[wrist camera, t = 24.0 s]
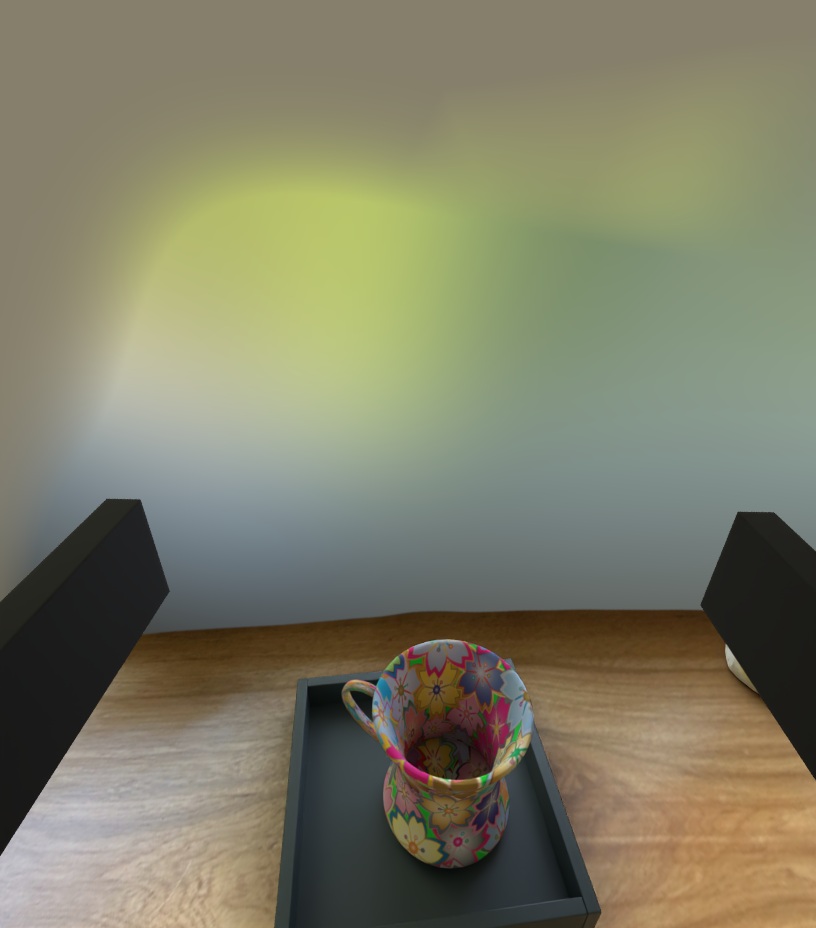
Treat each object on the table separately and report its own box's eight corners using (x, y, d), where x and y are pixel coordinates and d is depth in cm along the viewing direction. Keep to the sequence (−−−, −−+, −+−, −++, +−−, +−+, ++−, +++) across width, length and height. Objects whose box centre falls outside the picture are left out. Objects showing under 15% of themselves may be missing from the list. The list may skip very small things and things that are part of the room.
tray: (278, 983, 26) (270, 962, 25) (301, 703, 41) (297, 678, 39) (591, 935, 28) (602, 912, 27) (507, 682, 42) (511, 658, 41)
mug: (524, 761, 36) (544, 664, 31) (497, 913, 28) (516, 818, 23) (376, 706, 40) (371, 611, 35) (317, 826, 32) (299, 728, 27)
